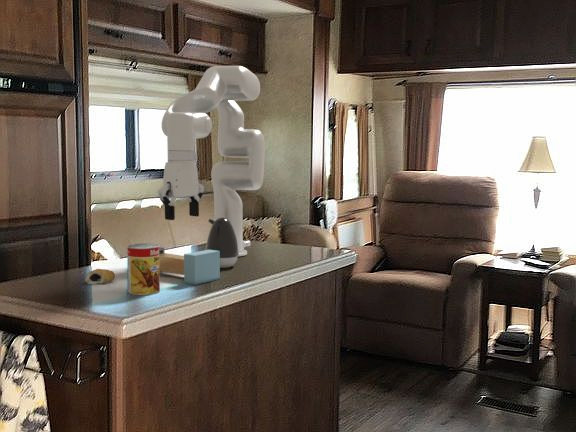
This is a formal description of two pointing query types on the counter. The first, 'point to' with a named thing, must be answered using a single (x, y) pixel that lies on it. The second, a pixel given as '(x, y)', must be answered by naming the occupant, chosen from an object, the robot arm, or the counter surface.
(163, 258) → the tan wooden plank
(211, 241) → the pump dispenser
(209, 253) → the socket block
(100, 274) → the pastry
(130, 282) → the canned food
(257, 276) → the counter surface
